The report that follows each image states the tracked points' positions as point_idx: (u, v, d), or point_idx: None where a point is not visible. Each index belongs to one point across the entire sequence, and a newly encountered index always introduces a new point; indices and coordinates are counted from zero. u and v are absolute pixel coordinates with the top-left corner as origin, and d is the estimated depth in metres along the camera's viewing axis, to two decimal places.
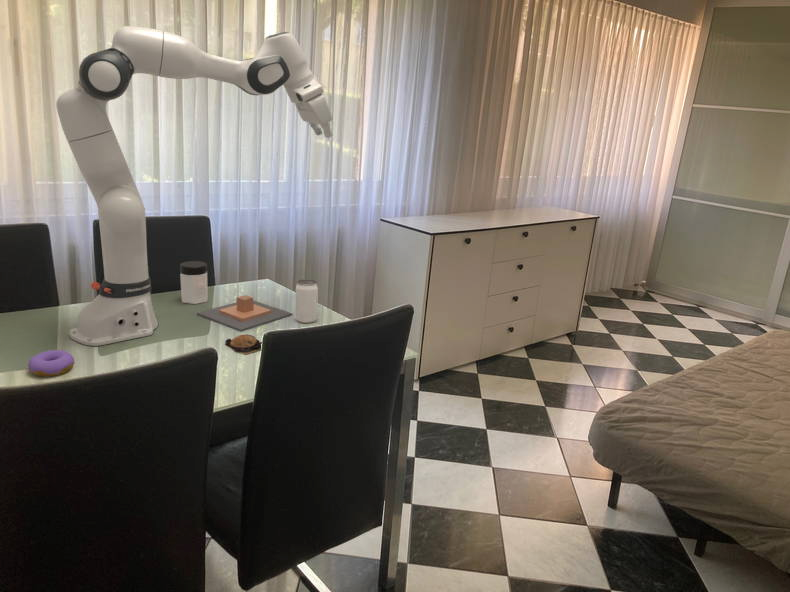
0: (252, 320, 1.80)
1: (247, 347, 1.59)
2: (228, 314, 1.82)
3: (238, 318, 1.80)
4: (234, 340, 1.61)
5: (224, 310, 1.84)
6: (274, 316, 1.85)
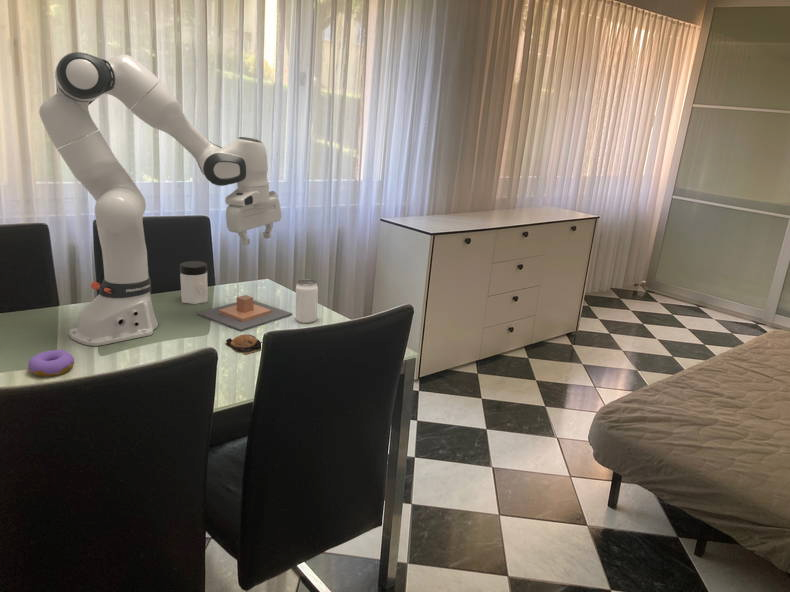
0: (252, 320, 1.80)
1: (248, 347, 1.59)
2: (228, 314, 1.82)
3: (238, 318, 1.80)
4: (234, 340, 1.61)
5: (224, 310, 1.84)
6: (274, 316, 1.85)
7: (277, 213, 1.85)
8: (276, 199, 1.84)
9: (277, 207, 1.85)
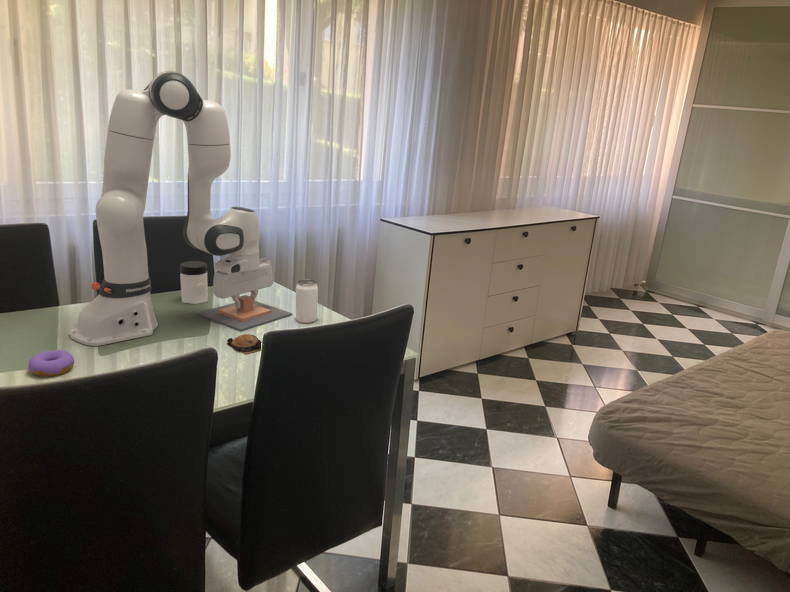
0: (252, 320, 1.80)
1: (248, 347, 1.59)
2: (228, 314, 1.82)
3: (238, 318, 1.80)
4: (235, 340, 1.62)
5: (224, 310, 1.84)
6: (274, 316, 1.85)
7: (268, 279, 1.88)
8: (268, 266, 1.87)
9: (269, 273, 1.88)
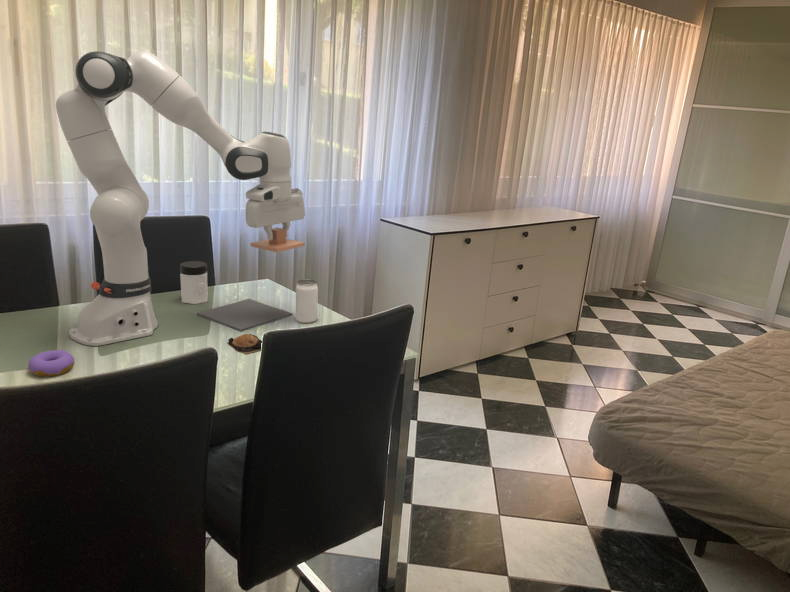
0: (252, 320, 1.80)
1: (248, 347, 1.60)
2: (260, 246, 1.76)
3: (272, 249, 1.73)
4: (236, 339, 1.62)
5: (256, 243, 1.78)
6: (274, 316, 1.85)
7: (300, 211, 1.82)
8: (300, 196, 1.80)
9: (300, 205, 1.81)
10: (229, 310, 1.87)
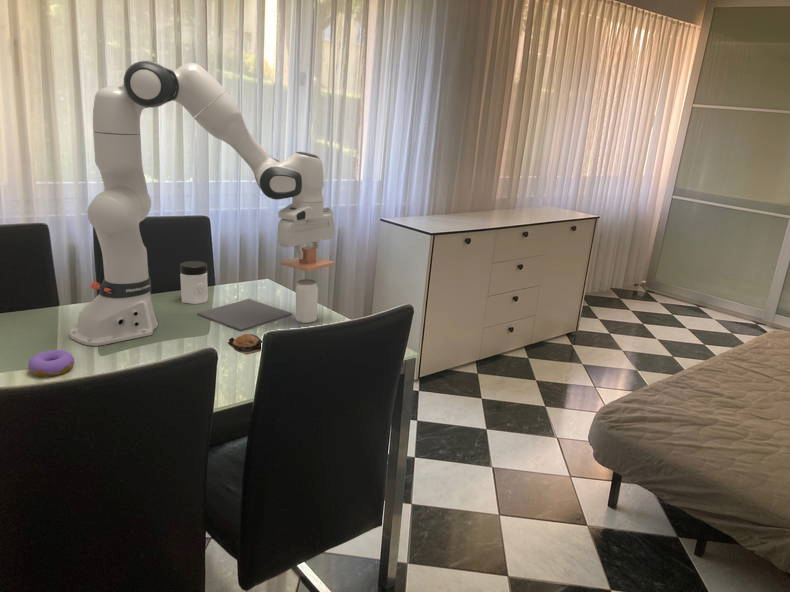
0: (252, 320, 1.80)
1: (248, 347, 1.60)
2: (291, 264, 1.76)
3: (302, 268, 1.74)
4: (236, 339, 1.62)
5: (286, 261, 1.78)
6: (274, 316, 1.85)
7: (330, 230, 1.82)
8: (330, 216, 1.81)
9: (331, 224, 1.82)
10: (229, 310, 1.87)
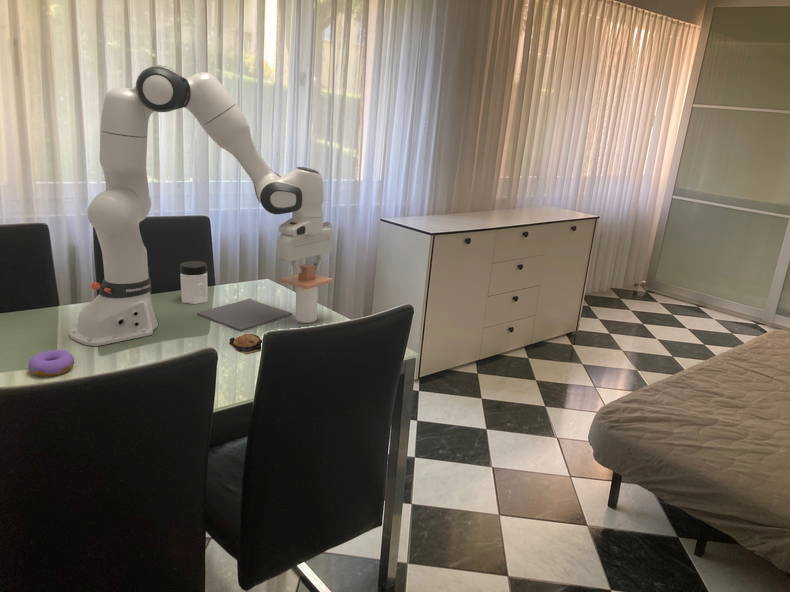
0: (252, 320, 1.80)
1: (249, 347, 1.60)
2: (290, 282, 1.78)
3: (302, 286, 1.75)
4: (237, 339, 1.62)
5: (285, 279, 1.80)
6: (274, 316, 1.85)
7: (330, 244, 1.83)
8: (330, 230, 1.82)
9: (330, 238, 1.83)
10: (229, 310, 1.87)
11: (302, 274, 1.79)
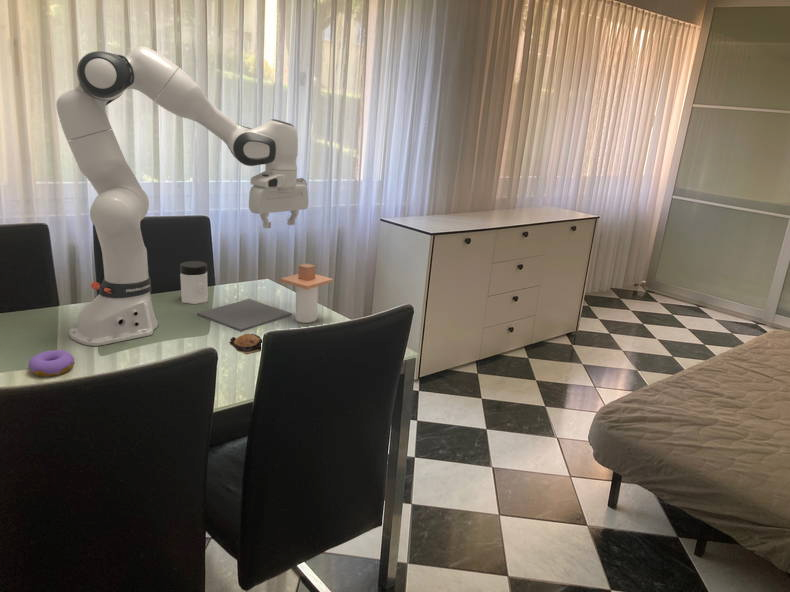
0: (252, 320, 1.80)
1: (249, 346, 1.60)
2: (290, 282, 1.78)
3: (302, 286, 1.75)
4: (237, 339, 1.62)
5: (285, 278, 1.80)
6: (274, 316, 1.85)
7: (304, 201, 1.83)
8: (304, 186, 1.81)
9: (304, 195, 1.82)
10: (229, 310, 1.87)
11: (302, 274, 1.79)
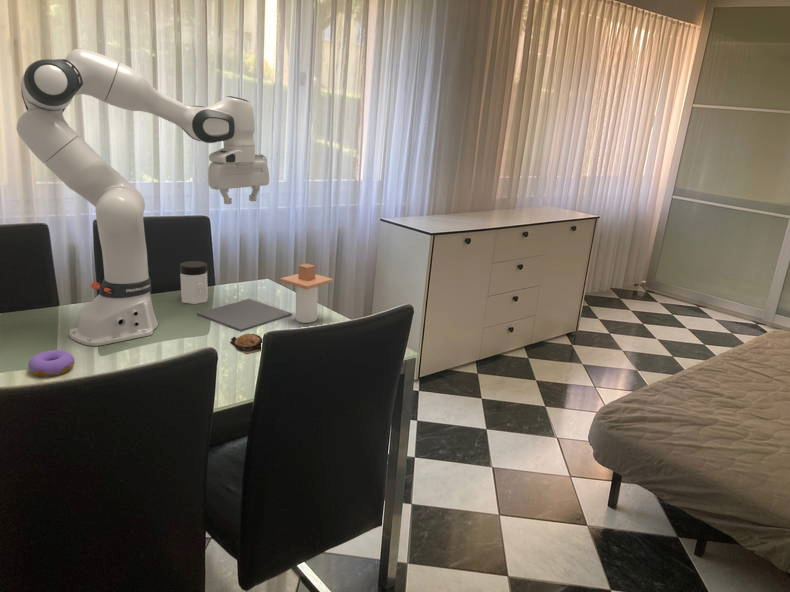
0: (252, 320, 1.80)
1: (249, 346, 1.60)
2: (290, 282, 1.78)
3: (302, 286, 1.75)
4: (238, 339, 1.62)
5: (285, 278, 1.80)
6: (274, 316, 1.85)
7: (264, 177, 1.86)
8: (264, 162, 1.84)
9: (265, 171, 1.85)
10: (229, 310, 1.87)
11: (302, 274, 1.79)
